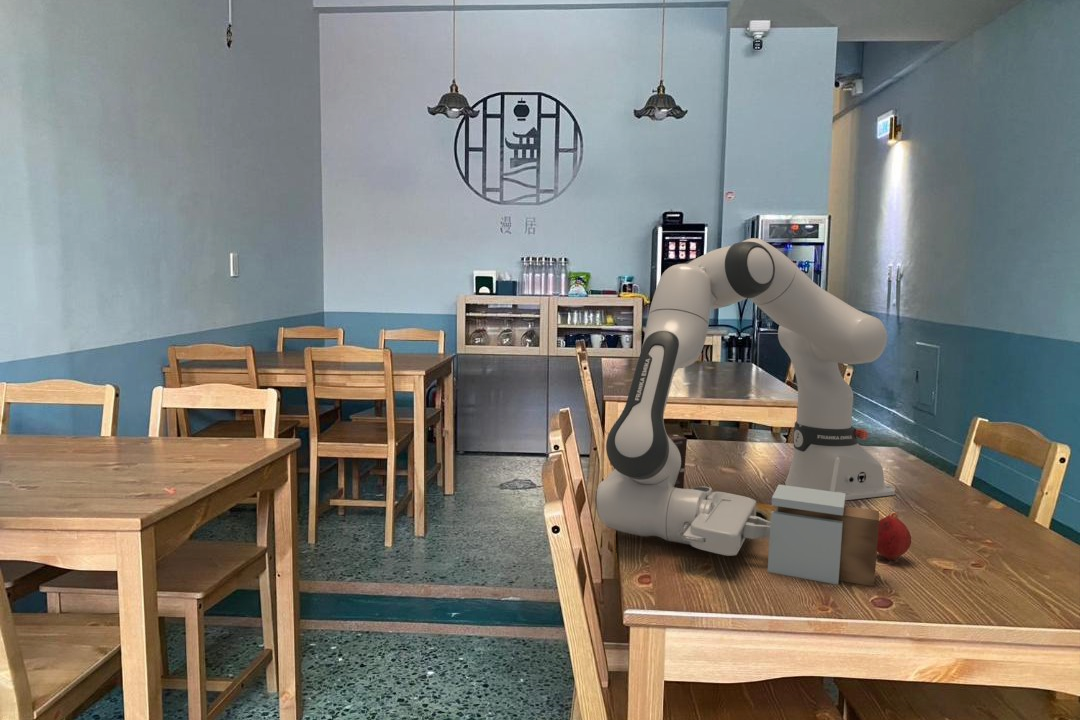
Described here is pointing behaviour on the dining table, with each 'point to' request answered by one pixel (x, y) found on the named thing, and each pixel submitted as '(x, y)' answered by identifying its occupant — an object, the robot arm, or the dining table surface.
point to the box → (681, 446)
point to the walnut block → (853, 542)
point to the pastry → (764, 511)
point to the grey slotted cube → (806, 534)
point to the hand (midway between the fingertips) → (778, 531)
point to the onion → (892, 537)
